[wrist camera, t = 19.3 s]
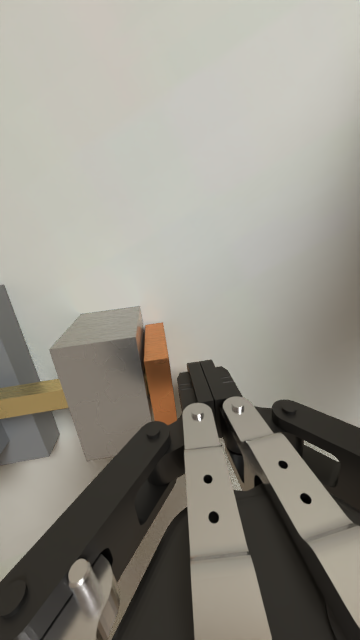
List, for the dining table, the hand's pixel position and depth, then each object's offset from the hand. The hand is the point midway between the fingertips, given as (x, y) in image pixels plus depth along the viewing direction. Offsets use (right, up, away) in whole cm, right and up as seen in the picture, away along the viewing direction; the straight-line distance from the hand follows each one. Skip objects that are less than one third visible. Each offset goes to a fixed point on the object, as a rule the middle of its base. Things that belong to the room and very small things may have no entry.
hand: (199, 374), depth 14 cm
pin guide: (-5, +1, +3) cm, 6 cm away
